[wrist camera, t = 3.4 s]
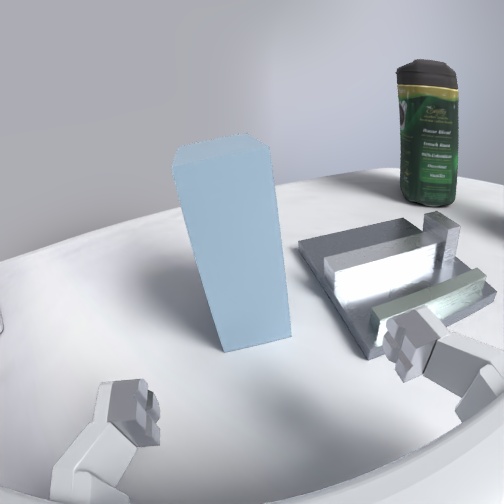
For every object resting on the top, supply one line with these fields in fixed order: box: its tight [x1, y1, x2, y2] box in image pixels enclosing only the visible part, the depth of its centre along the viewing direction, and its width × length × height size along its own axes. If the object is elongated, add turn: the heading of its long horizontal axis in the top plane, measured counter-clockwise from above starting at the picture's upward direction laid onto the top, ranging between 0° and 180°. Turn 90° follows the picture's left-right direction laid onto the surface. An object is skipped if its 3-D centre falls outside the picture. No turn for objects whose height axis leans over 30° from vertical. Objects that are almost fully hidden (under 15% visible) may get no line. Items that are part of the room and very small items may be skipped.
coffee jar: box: [396, 59, 458, 206], centre depth 31 cm, size 10×8×19 cm
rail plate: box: [298, 211, 497, 360], centre depth 22 cm, size 12×14×4 cm
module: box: [171, 133, 292, 352], centre depth 19 cm, size 4×7×12 cm, turn 10°
